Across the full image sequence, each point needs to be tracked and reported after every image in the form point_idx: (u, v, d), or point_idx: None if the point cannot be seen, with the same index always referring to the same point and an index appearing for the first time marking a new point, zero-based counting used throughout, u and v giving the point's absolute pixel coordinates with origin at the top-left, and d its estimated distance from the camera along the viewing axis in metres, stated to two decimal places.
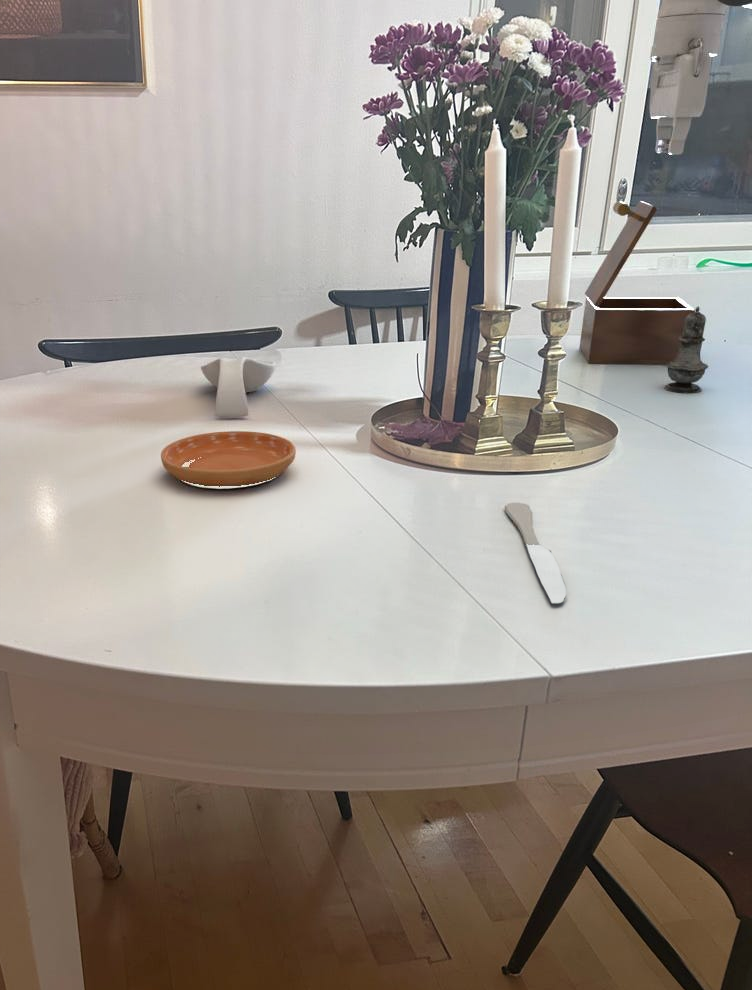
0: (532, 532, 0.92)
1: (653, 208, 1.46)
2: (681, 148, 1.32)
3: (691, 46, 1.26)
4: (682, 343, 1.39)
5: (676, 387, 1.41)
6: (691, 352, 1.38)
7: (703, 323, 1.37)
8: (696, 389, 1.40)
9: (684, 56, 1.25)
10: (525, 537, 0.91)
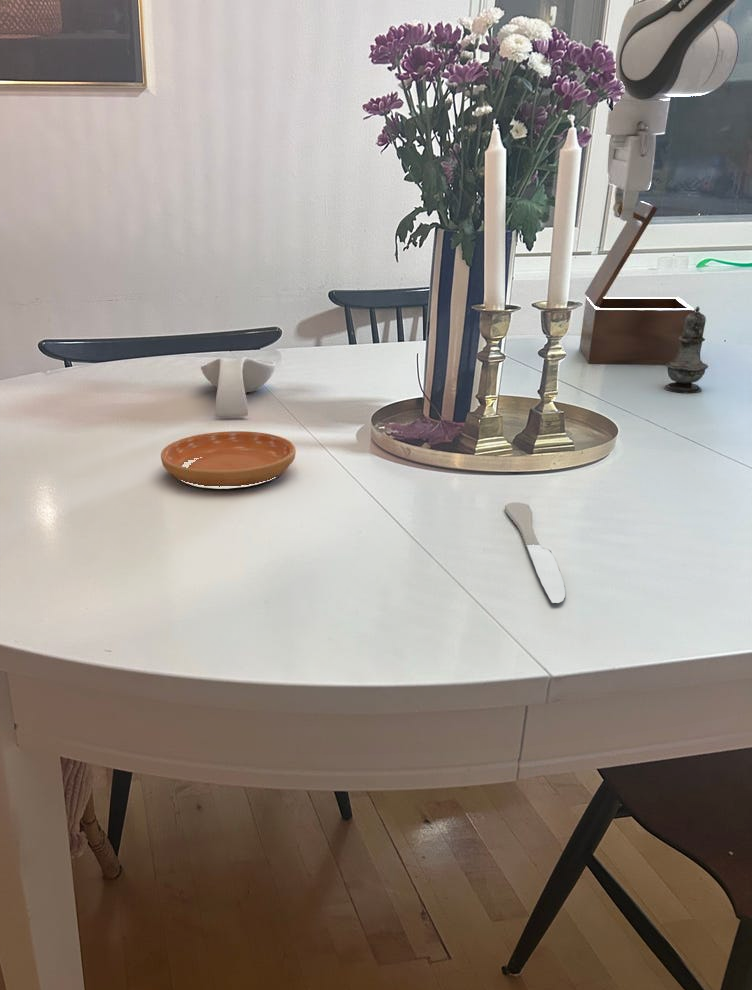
0: (532, 532, 0.92)
1: (653, 208, 1.46)
2: (631, 215, 1.49)
3: (639, 128, 1.42)
4: (682, 343, 1.39)
5: (676, 387, 1.41)
6: (691, 352, 1.38)
7: (703, 323, 1.37)
8: (696, 389, 1.40)
9: (632, 138, 1.41)
10: (525, 537, 0.91)
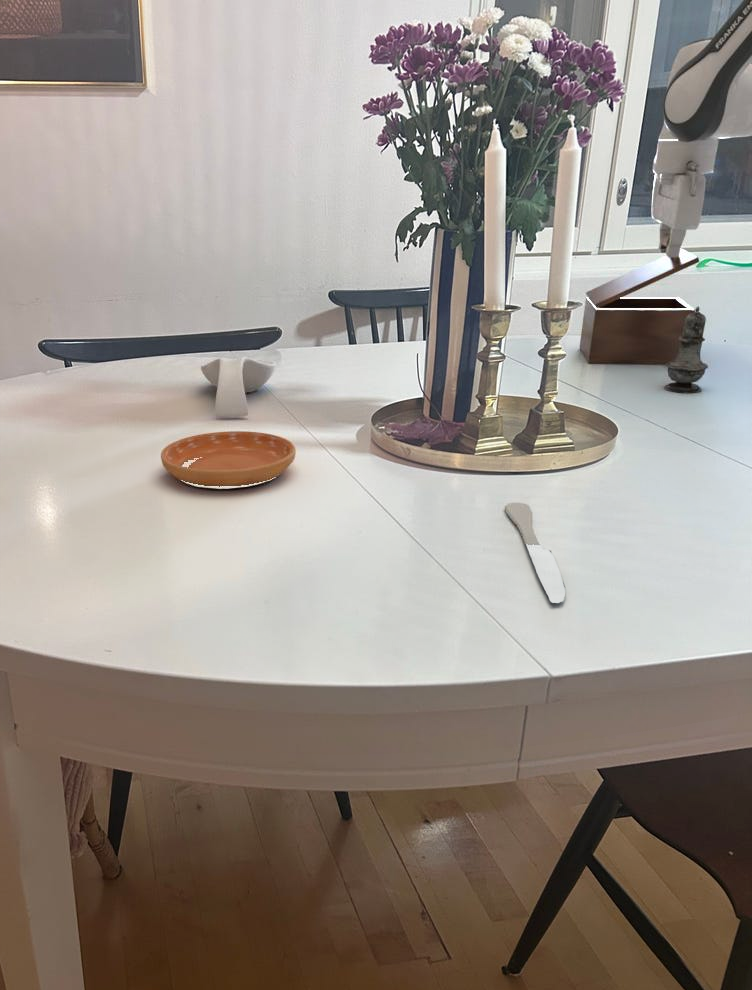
0: (532, 532, 0.92)
1: (696, 259, 1.48)
2: (677, 252, 1.51)
3: (688, 168, 1.43)
4: (682, 343, 1.39)
5: (676, 387, 1.41)
6: (691, 352, 1.38)
7: (703, 323, 1.37)
8: (696, 389, 1.40)
9: (682, 178, 1.42)
10: (525, 537, 0.91)
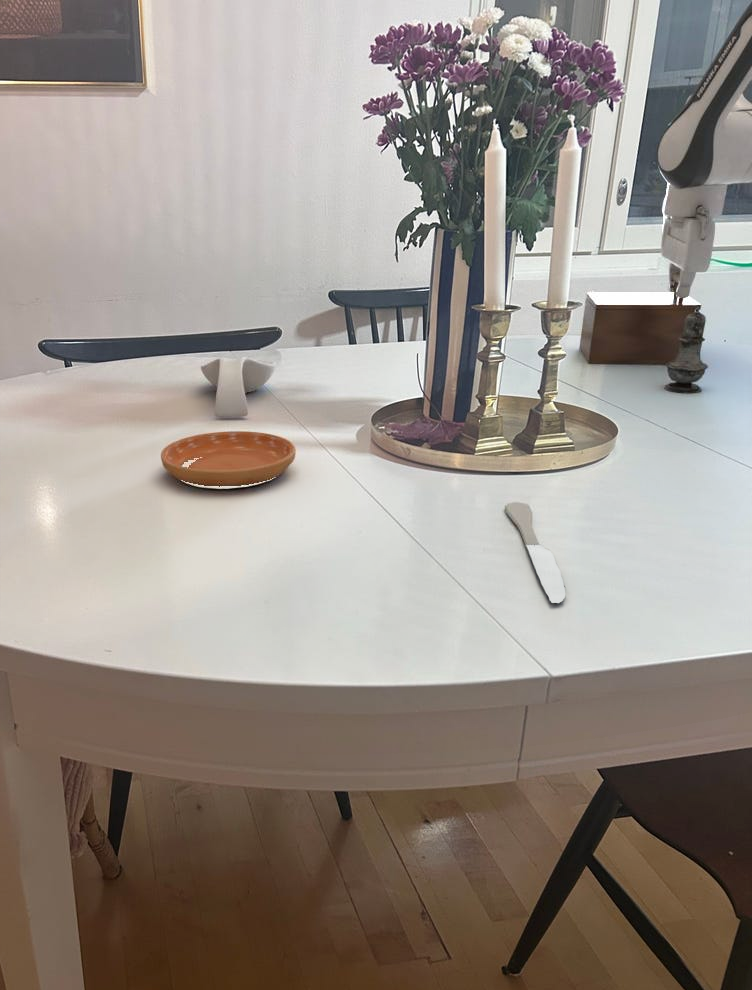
0: (532, 532, 0.92)
1: (699, 306, 1.52)
2: (687, 293, 1.53)
3: (698, 212, 1.46)
4: (682, 343, 1.39)
5: (676, 387, 1.41)
6: (691, 352, 1.38)
7: (703, 323, 1.37)
8: (696, 389, 1.40)
9: (692, 222, 1.44)
10: (525, 537, 0.91)
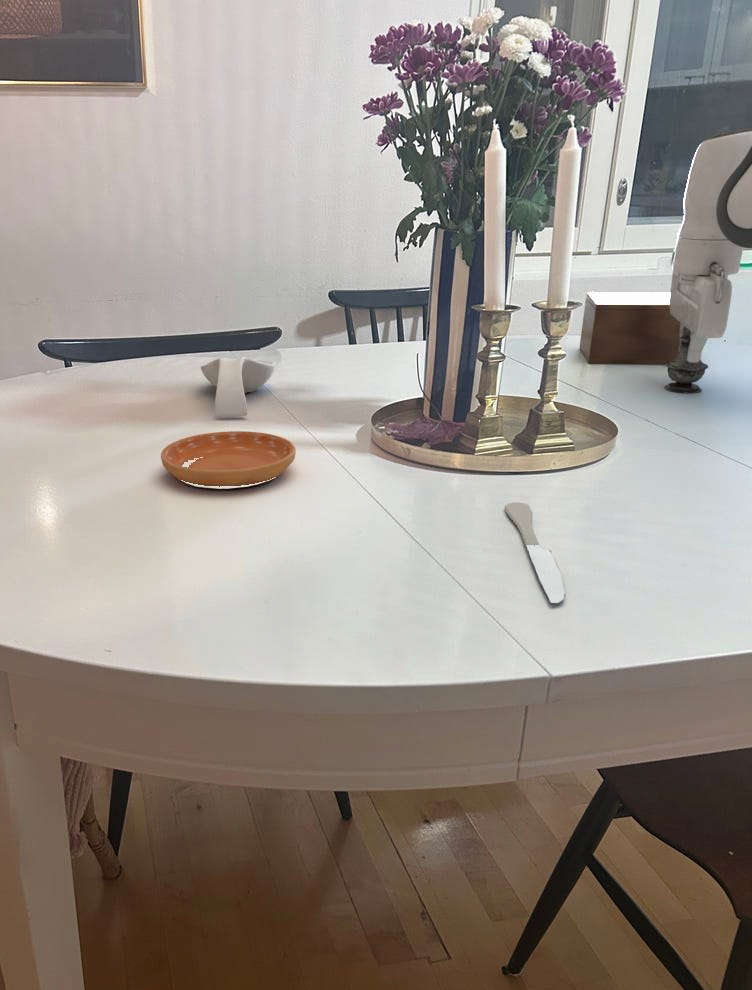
0: (532, 532, 0.92)
1: None
2: (698, 357, 1.37)
3: (712, 270, 1.29)
4: (682, 343, 1.39)
5: (676, 387, 1.41)
6: None
7: None
8: (696, 389, 1.40)
9: (706, 282, 1.28)
10: (525, 537, 0.91)
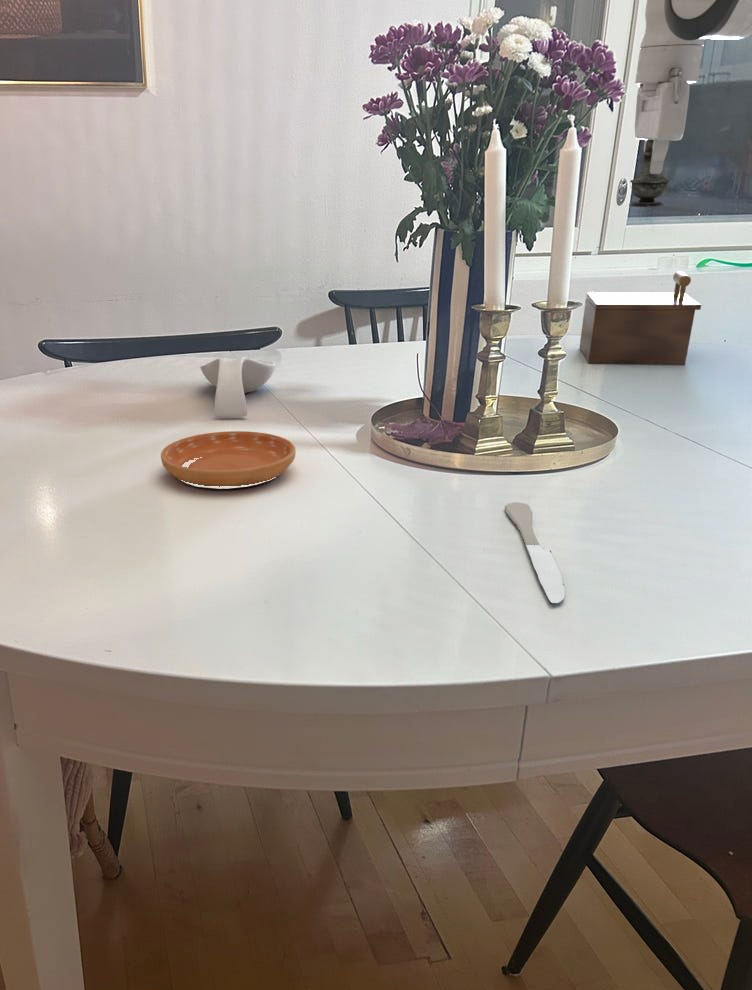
0: (532, 532, 0.92)
1: (699, 306, 1.52)
2: (660, 168, 1.44)
3: (671, 75, 1.35)
4: (645, 157, 1.45)
5: (639, 202, 1.48)
6: None
7: None
8: (658, 203, 1.47)
9: (665, 84, 1.34)
10: (525, 537, 0.91)
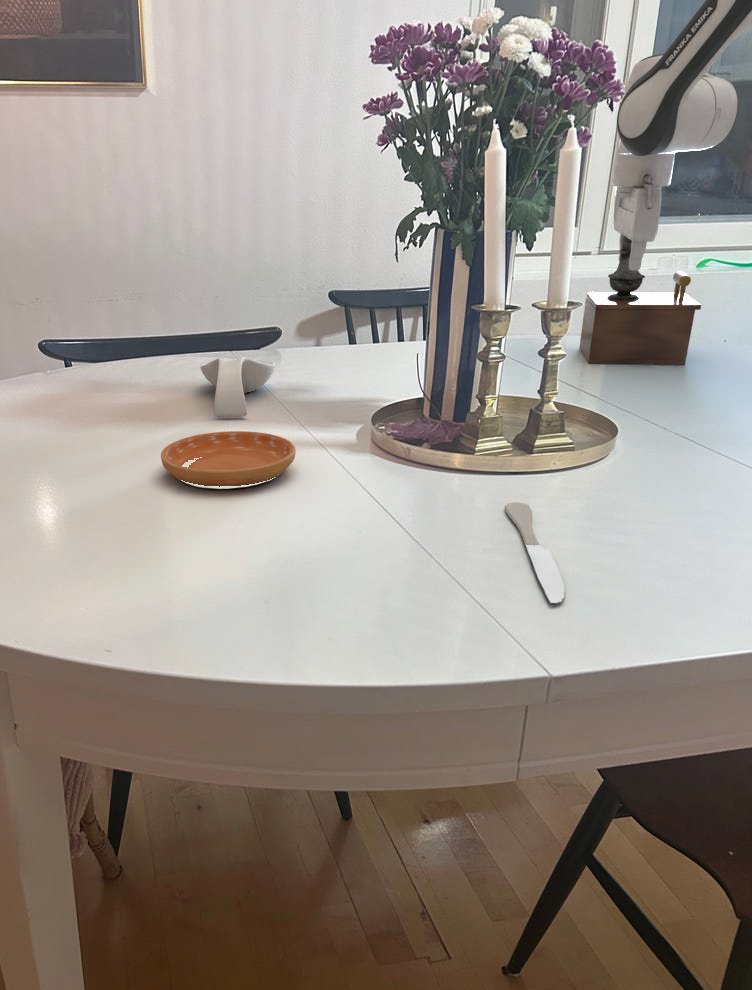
0: (532, 532, 0.92)
1: (699, 306, 1.52)
2: (639, 265, 1.51)
3: (645, 181, 1.45)
4: (621, 255, 1.55)
5: (617, 296, 1.57)
6: None
7: None
8: (634, 297, 1.57)
9: (639, 191, 1.44)
10: (524, 537, 0.91)
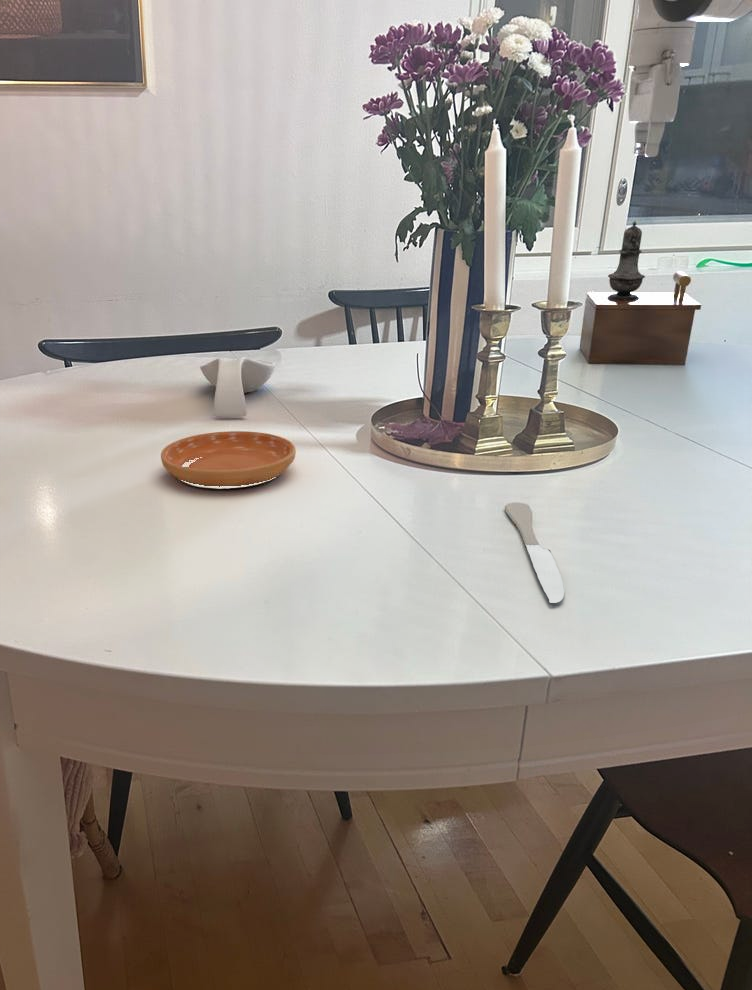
0: (531, 532, 0.92)
1: (699, 306, 1.52)
2: (656, 151, 1.43)
3: (664, 57, 1.37)
4: (621, 255, 1.55)
5: (617, 296, 1.57)
6: (629, 263, 1.54)
7: (639, 236, 1.53)
8: (634, 297, 1.57)
9: (657, 66, 1.36)
10: (524, 537, 0.91)
